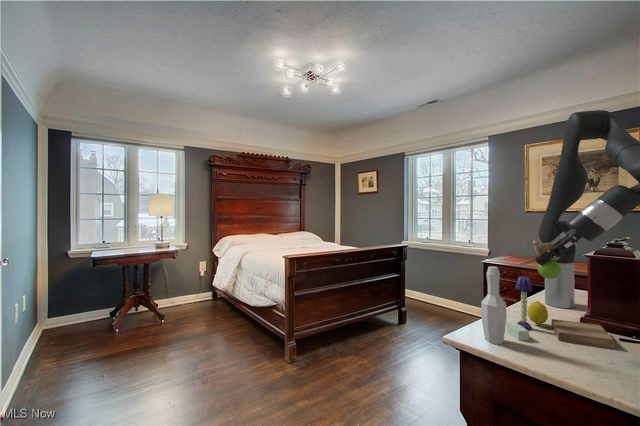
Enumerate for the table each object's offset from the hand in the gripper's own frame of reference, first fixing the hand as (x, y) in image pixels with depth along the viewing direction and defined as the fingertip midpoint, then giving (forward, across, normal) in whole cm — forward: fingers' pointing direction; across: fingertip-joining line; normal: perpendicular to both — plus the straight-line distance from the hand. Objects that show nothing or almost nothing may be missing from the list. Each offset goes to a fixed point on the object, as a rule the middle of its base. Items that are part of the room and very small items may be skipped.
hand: (538, 262), depth 88 cm
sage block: (+21, -2, +13) cm, 24 cm away
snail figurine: (+2, 0, +5) cm, 5 cm away
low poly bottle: (+25, +5, +9) cm, 27 cm away
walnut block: (+10, -10, +24) cm, 28 cm away
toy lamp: (+19, -10, +14) cm, 26 cm away
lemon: (+16, -15, +17) cm, 28 cm away
